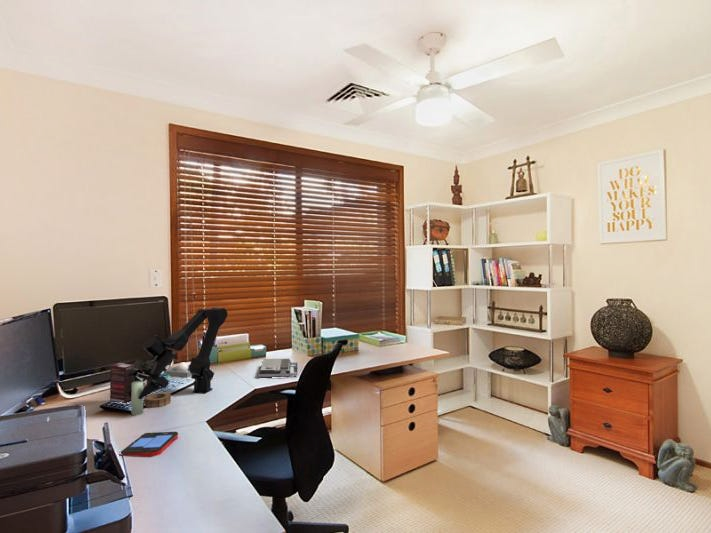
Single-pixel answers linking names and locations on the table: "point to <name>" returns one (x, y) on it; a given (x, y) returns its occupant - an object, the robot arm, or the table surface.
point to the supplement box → (120, 382)
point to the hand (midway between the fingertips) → (133, 397)
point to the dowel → (136, 398)
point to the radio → (276, 368)
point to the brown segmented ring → (157, 399)
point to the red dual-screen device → (150, 444)
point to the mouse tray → (177, 372)
